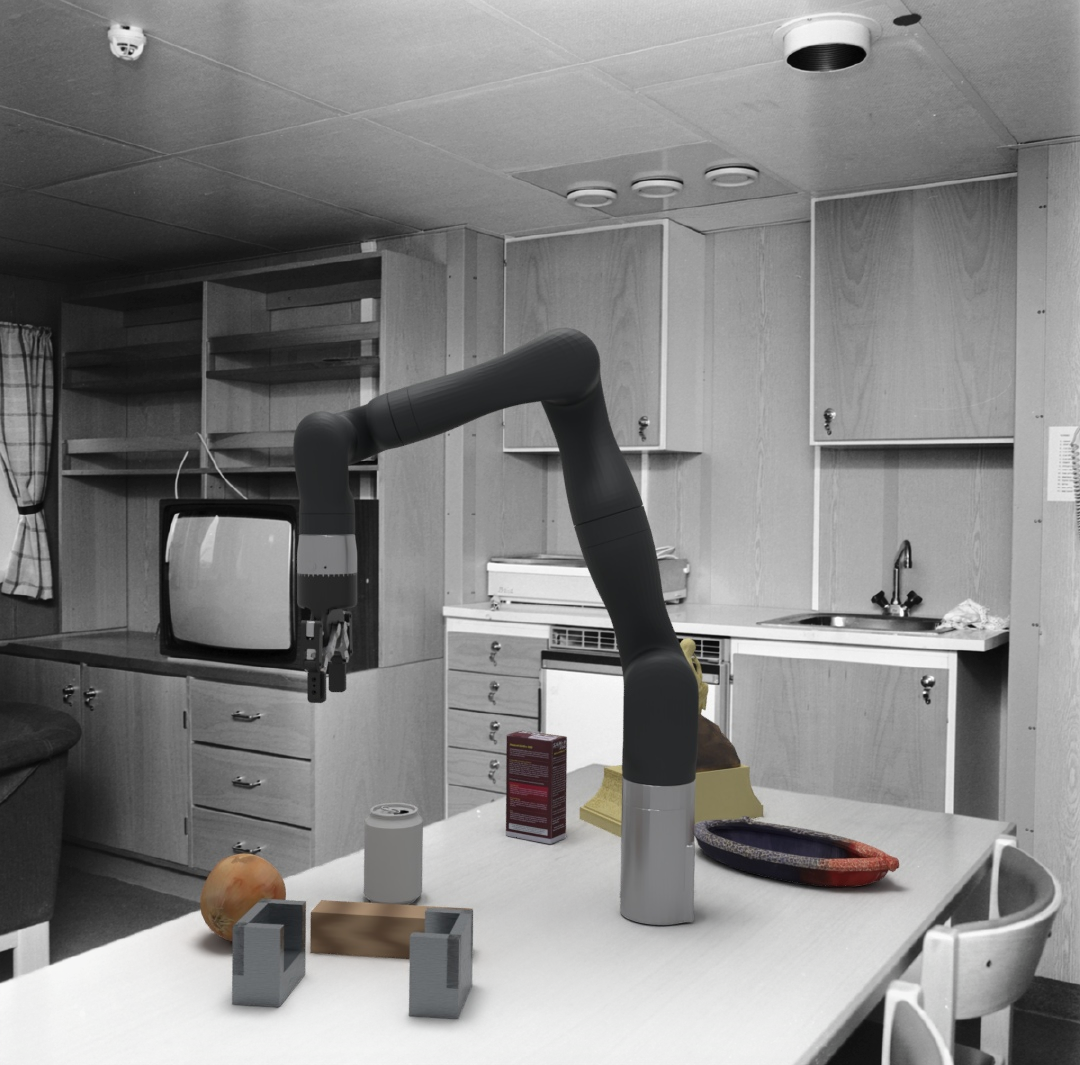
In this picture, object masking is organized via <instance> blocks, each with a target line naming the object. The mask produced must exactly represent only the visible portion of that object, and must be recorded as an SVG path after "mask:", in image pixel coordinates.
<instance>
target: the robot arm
mask: <svg viewBox="0 0 1080 1065" xmlns="http://www.w3.org/2000/svg"><path fill="white" fill-rule="evenodd" d="M604 395H605V393H604V389H603V382H602V375H601V357H600V353H599V350H598V348H597V346H596V344H595V343H594V341H593V340H592V339H591V338H590V337H589V336H588V335H587V334H586V333H584V332H583V331H580V330H577V329H575V328H569V327H557V328H553V329H550V330H548V331H546V332H545V333H543V334H542V335H539V336H537V337H535V338H534V339H532V340H529V341H528V342H526V343H524V344H521V345H520V346H518V347H516V348H514V349H512V350H510V351H507V352H505V353H504V354H501V355H500V356H497V357H494V358H492V359H490V360H487V361H484V362H481V363H479V364H476V365H473V366H471V367H468V368H465V369H462V370H459V371H455V372H452V373H448V374H445V375H440V376H438V377H436V378H431V379H428V380H424V381H421V382H418V383H415V384H411V385H408V386H405V387H401V388H399V389H398V388H397V389H395V390H392V391H389V392H386V393H383V394H380V395H378V396H376V397H375V396H374V398H372V399H370V400H369V401H368V403H366V404H363V405H360V406H357V407H353V408H351V409H347V410H344V411H340V412H336V413H332V412H329V411H314V412H312V413H309V414H307V415H306V416H303V418H302V419H301V420H300V422H299V423H298V424H297V426H296V429H295V431H294V436H293V444H292V446H293V447H292V448H293V451H292V452H293V463H294V469H295V476H296V477H295V478H296V483H297V489H298V497H299V506H298V508H299V510H298V531H299V532H298V534H299V535H298V544H297V552H296V553H297V554H296V556H297V557H296V559H297V560H296V564H297V566H296V570H297V572H296V577H297V578H296V581H297V582H296V584H297V585H296V588H297V589H296V592H297V595H296V600H297V601H296V602H297V606H298V607H299V608H301V609H309V610H310V613H311V614H310V618H309V620H307V619H304V620H303V619H302V620H301V622H300V626H299V627H300V635H299V636H300V637H299V638H300V639H299V640H300V641H299V642H300V643H299V646H300V647H299V648H300V649H299V667H300V669H301V670H304V671H305V673H307V674H306V675H307V676H306V677H307V686H306V687H307V701H308V703H310V704H324V703H325V702H326V701H327V670H328V691H329V692H331V693H344V692H345V691H346V690H347V663H349V660H350V657H352V656H353V653H354V650H353V649H354V648H353V613H352V611H346V610H344V609H351V608H354V607H356V606H357V604H358V550H357V542H356V535H355V534H356V506H355V498H354V496H353V493H352V492H351V490H350V483H349V482H350V480H349V478H350V476H349V475H350V474H349V466H351V465H354V464H356V463H359V462H361V461H365V460H366V459H368V458H371V457H374V456H376V455H378V454H381V453H382V452H385V451H388V450H393V449H397V448H402V447H405V446H408V445H412V444H414V443H417V442H421V441H424V440H427V439H430V438H433V437H436V436H439V435H442V434H444V433H447V432H449V431H453V430H454V429H456V428H457V429H458V428H459V427H462V426H464V425H465V424H466V425H467V424H468V423H470V422H473V421H474V420H477V419H480V418H482V417H485V416H486V415H489V414H492V413H496V412H498V411H501V410H505V409H508V408H511V407H512V408H513V407H516V406H521V405H526V404H531V403H532V404H533V403H538V402H540V404H541V406H542V408H543V411H544V413H545V415H546V417H547V420H548V423H549V425H550V428H551V431H552V433H553V435H554V438H555V441H556V443H557V447H558V451H559V456H560V461H561V467H562V476H563V482H564V487H565V494H566V499H567V503H568V507H569V512H570V516H571V521H572V524H573V526H574V528H573V529H574V531H575V535H576V538H577V542H578V544H579V548H580V551H581V554H582V556H583V560H584V562H585V566H586V568H587V570H588V573H589V575H590V577H591V580H592V582H593V584H594V586H595V589H596V591H597V593H598V594H599V597H600V599H601V601H602V603H603V605H604V607H605V609H606V611H607V613H608V617H609V618H610V622H611V624H612V627H613V628H612V630H613V632H614V635H615V640H616V644H617V645H616V646H617V650H618V655H619V660H620V664H621V671H622V679H623V682H622V683H623V697H622V698H623V701H622V702H623V703H622V704H623V705H622V706H623V708H622V712H623V713H622V752H621V754H622V757H621V758H622V759H621V765H622V817H621V837H620V876H619V877H620V885H619V887H620V889H619V911H620V912H619V913H620V914H621V916H623V917H624V918H626V919H628V920H631V921H633V922H637V923H641V924H645V925H658V926H669V925H670V926H671V925H676V924H682V923H694V921H695V920H694V919H695V918H694V917H695V916H694V915H695V914H694V913H695V912H694V910H695V871H696V870H695V863H696V860H695V859H696V858H695V856H696V855H695V853H696V845H695V836H694V830H695V778H696V761H697V752H698V718H699V688H698V682H697V679H696V676H695V674H694V672H693V670H692V667H691V666H690V664H689V662H688V660H687V659H686V657H685V654H684V652H683V650H682V648H681V645H680V643H681V642H680V641H679V638H678V637H677V636H678V635H677V633H676V631H675V629H674V627H673V623H672V621H671V619H670V615H669V613H668V609H667V606H666V602H665V598H664V592H663V586H662V578H661V572H660V564H659V560H658V555H657V550H656V545H655V541H654V536H653V532H652V529H651V525H650V523H649V519H648V515H647V511H646V509H645V506H644V502H643V500H642V497H641V493H640V492H639V491H640V490H639V489H638V487H637V483H636V481H635V479H634V476H633V474H632V472H631V469H630V467H629V465H628V463H627V461H626V458H625V457H624V455H623V452H622V450H621V448H620V446H619V444H618V442H617V439H616V438H615V435H614V431H613V428H612V426H611V422H610V418H609V413H608V408H607V403H606V399H605V396H604Z"/></svg>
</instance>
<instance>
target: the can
mask: <svg viewBox="0 0 1080 1065" xmlns="http://www.w3.org/2000/svg"><path fill="white" fill-rule="evenodd" d="M418 811H419V808H418V807H417V805H416V806H415V805H414V804H410V803H406V802H405V803H404V802H387V803H380V804H376V805H374V806H372V807H370V809H369V813H370V814H369V815H368V816H367V817H366V819H365V820H364V831H363V832H364V837H363V838H364V841H363V842H364V845H363V851H364V852H363V855H364V856H363V857H364V858H363V860H364V861H363V894H364V897H365V898H366V899H368V900H369V901H370V902H369V903H382V904H400V905H412V904H413V903H414V902H415V901H416V900H417V899H418V898H420V896H422V893H423V852H424V850H423V847H424V843H423V842H424V840H423V839H424V819H423V818H422V817H421V815H420V814H419V813H418Z"/></svg>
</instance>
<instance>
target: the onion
mask: <svg viewBox="0 0 1080 1065" xmlns="http://www.w3.org/2000/svg"><path fill="white" fill-rule="evenodd" d="M286 890H287V889H286V885H285V882H284V879H283V877H282V876H281V874H280V872H279V870H278V869H277V868H276V867H275V866H274V865H272V863H270V862H269V861H268V860H266V858H263V857H261V856H258V855H255V854H252V853H238V854H234V855H229V856H226V857H224V858H222V859H220V860H219V861H218V862H217V864H215V866H214V867H213V868H212V870H211V871H210V873H209V874H208V876H207V878H206V880H205V882H204V884H203V887H202V890H201V894H200V906H199V907H200V913H201V916H202V919H203V921H204V922H205V925H207V927H208V928H209V929H210V930H211V931H213V933H215V934H216V935H217V936H218V937H220V938H222V939H225V940H226V941H229V942H233V926H234V925H235V924H236V923H237V922H238V921H239V920H240V919H241V918H242V917H243V916H244V915H245V914H246V913H247V912H248V911H249V910H250V909H251V908H252V907H253V906H254V905H255V904H257V903H258V902H259V901H260V900H261V899H278V900H287V891H286Z"/></svg>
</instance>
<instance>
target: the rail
mask: <svg viewBox="0 0 1080 1065" xmlns="http://www.w3.org/2000/svg"><path fill="white" fill-rule="evenodd" d="M427 908H443V909H461V910H473V911H474V908H467V907H452V906H450V907H448V906H434V905H419V904H418V905H415V904H414V905H412V904H408V905H400V904H382V903H371V902H361V901H345V900H327V899H325V900H323V899H321V900H320V901H319V902H318V903H317V904H316V905H315V906H314V907H313V909H312V910H311V911H310V924H309V926H310V927H309V928H310V936H309V937H310V938H309V939H310V942H309V944H310V946H309V949H310V951H309V954H315V955H316V954H317V955H334V956H349V957H365V958H380V959H381V958H383V959H398V960H399V959H400V960H410V935H411V934H412V932H419V933H425V911H426V909H427Z"/></svg>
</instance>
